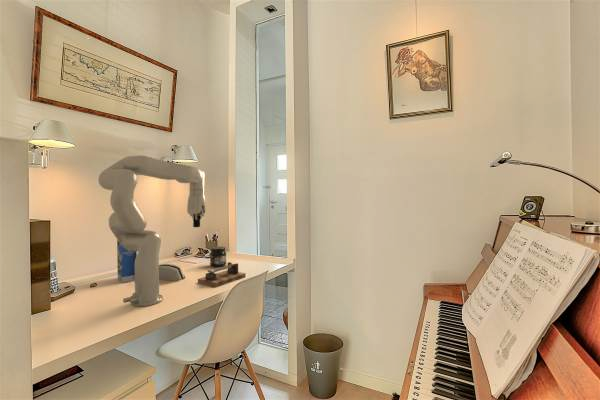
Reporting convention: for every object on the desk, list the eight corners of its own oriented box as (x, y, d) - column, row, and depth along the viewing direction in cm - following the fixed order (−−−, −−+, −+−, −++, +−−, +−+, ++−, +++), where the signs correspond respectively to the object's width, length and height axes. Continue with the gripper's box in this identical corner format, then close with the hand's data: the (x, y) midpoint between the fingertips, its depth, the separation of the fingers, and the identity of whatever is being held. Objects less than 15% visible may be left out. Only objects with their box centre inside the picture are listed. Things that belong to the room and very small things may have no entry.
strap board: (215, 287, 150) (215, 272, 150) (197, 282, 158) (197, 268, 158) (245, 276, 169) (245, 263, 169) (228, 273, 176) (228, 260, 176)
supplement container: (213, 263, 201) (212, 246, 201) (228, 263, 201) (228, 246, 200) (207, 267, 191) (207, 249, 190) (223, 267, 190) (223, 249, 190)
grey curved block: (186, 278, 167) (182, 262, 164) (181, 283, 163) (177, 267, 159) (160, 276, 171) (156, 261, 167) (155, 281, 166) (150, 266, 163)
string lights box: (117, 278, 167) (116, 233, 167) (132, 275, 172) (131, 232, 172) (122, 283, 157) (121, 235, 157) (137, 280, 162) (137, 234, 162)
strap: (212, 273, 155) (212, 270, 155) (207, 272, 157) (207, 269, 157) (235, 267, 169) (235, 264, 169) (230, 266, 171) (230, 263, 171)
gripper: (182, 193, 160) (182, 226, 160) (199, 192, 151) (199, 228, 151) (194, 193, 166) (193, 225, 166) (211, 193, 158) (211, 227, 158)
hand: (196, 227), depth 159 cm, fingers closed
